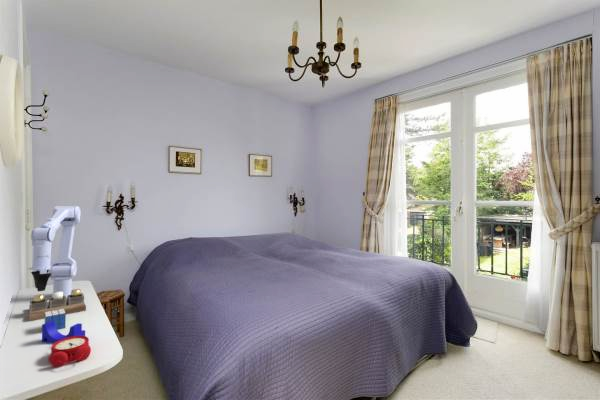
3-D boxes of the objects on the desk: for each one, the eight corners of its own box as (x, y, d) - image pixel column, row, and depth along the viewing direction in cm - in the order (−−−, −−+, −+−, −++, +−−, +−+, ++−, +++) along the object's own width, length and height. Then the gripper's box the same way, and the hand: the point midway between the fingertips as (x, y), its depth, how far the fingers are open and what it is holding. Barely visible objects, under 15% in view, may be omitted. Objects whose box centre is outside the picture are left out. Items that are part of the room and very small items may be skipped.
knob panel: (29, 309, 129) (29, 297, 129) (80, 300, 141) (81, 289, 141) (29, 321, 117) (29, 308, 117) (85, 310, 129) (86, 298, 129)
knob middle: (52, 299, 129) (52, 292, 129) (62, 297, 132) (62, 291, 132) (52, 301, 127) (53, 294, 127) (63, 299, 129) (63, 292, 129)
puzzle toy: (63, 323, 116) (64, 308, 116) (65, 328, 112) (65, 312, 112) (44, 327, 112) (44, 312, 112) (45, 332, 108) (45, 316, 108)
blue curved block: (85, 339, 104) (85, 321, 104) (73, 345, 100) (74, 327, 100) (54, 336, 106) (54, 319, 106) (41, 342, 101) (42, 324, 101)
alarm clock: (89, 332, 102) (93, 338, 90) (89, 351, 101) (93, 360, 89) (49, 340, 95) (48, 348, 84) (48, 361, 94) (47, 372, 83)
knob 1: (33, 302, 125) (33, 295, 125) (43, 300, 127) (44, 293, 127) (33, 304, 123) (33, 297, 123) (44, 303, 125) (44, 295, 125)
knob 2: (70, 296, 134) (70, 289, 133) (79, 295, 136) (80, 288, 136) (71, 298, 131) (71, 291, 131) (80, 297, 133) (81, 290, 133)
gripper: (27, 255, 128) (25, 288, 127) (30, 258, 118) (28, 294, 117) (49, 254, 133) (47, 285, 132) (53, 257, 123) (52, 291, 122)
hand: (40, 289), depth 125 cm, fingers open, 7 cm apart
